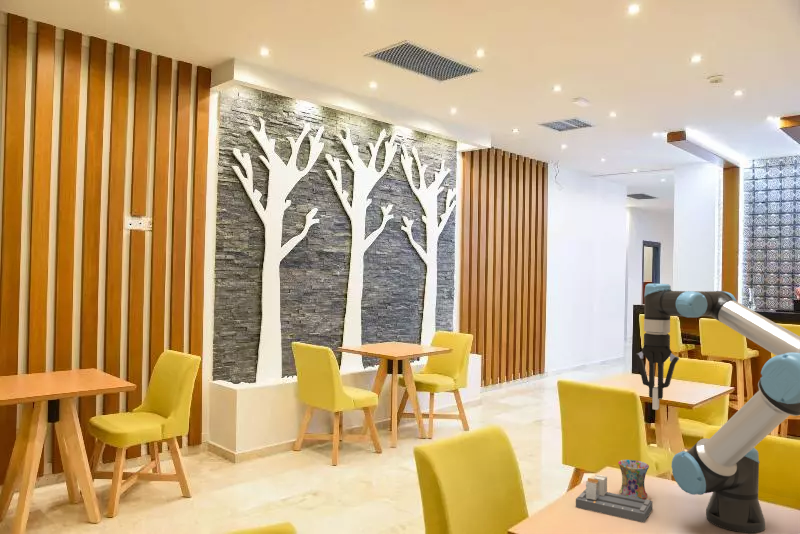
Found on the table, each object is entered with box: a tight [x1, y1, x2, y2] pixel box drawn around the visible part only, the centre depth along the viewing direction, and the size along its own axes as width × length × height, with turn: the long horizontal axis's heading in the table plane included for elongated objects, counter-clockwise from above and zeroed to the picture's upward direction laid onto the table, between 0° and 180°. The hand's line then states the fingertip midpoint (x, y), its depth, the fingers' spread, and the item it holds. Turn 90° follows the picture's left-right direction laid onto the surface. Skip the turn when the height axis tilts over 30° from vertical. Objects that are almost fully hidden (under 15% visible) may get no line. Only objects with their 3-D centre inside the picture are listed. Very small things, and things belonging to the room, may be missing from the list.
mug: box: [618, 459, 650, 500], centre depth 200 cm, size 12×9×11 cm
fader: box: [585, 477, 600, 500], centre depth 189 cm, size 3×4×6 cm
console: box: [575, 474, 653, 523], centre depth 188 cm, size 20×12×8 cm, turn 57°
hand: (655, 408), depth 190 cm, fingers closed
